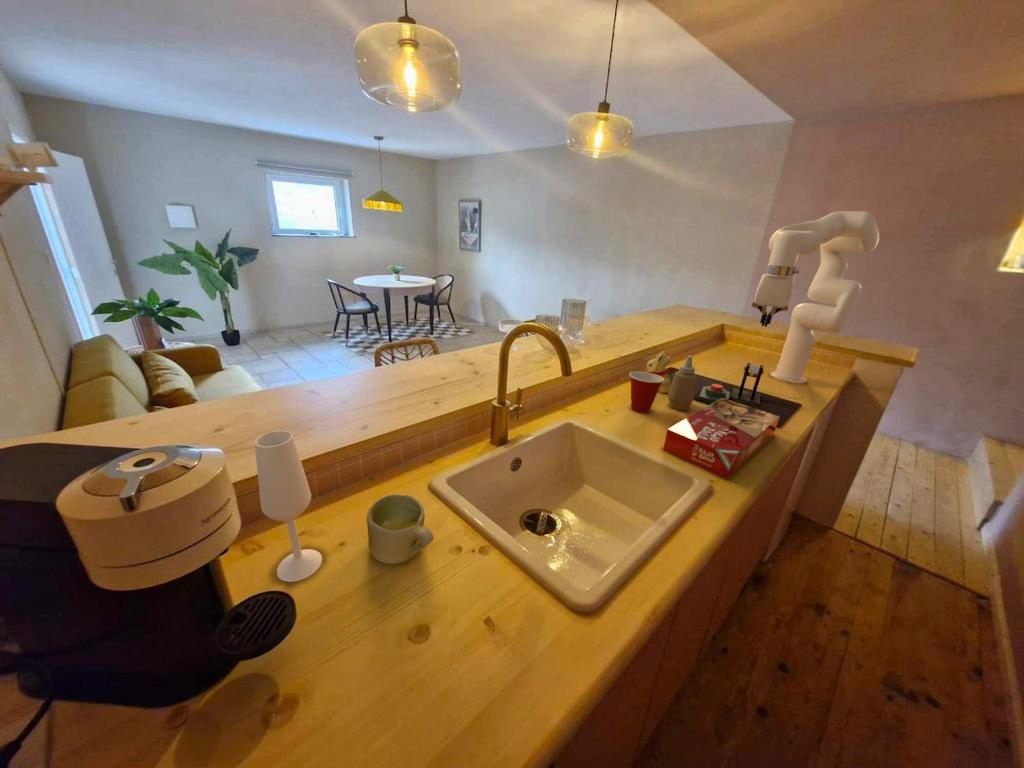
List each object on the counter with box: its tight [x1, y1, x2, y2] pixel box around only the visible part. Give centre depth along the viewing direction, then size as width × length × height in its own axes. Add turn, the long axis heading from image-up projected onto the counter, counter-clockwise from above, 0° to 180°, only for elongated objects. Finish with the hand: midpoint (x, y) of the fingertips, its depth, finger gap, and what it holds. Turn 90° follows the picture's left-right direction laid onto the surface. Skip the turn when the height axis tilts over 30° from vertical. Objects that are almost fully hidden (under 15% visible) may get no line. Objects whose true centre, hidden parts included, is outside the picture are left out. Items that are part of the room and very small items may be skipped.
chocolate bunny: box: [645, 350, 672, 394], centre depth 143 cm, size 7×11×15 cm, turn 38°
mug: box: [366, 493, 434, 565], centre depth 67 cm, size 12×10×10 cm
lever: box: [743, 365, 760, 379], centre depth 142 cm, size 12×5×2 cm, turn 149°
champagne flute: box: [254, 429, 323, 583], centre depth 60 cm, size 7×7×24 cm
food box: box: [662, 398, 780, 480], centre depth 109 cm, size 35×16×6 cm, turn 132°
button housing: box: [698, 385, 731, 404], centre depth 138 cm, size 12×9×4 cm
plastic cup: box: [628, 371, 664, 414], centre depth 126 cm, size 11×11×12 cm
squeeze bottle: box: [667, 355, 697, 411], centre depth 128 cm, size 8×8×18 cm
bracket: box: [730, 362, 765, 405], centre depth 139 cm, size 11×9×13 cm
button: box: [710, 383, 724, 392], centre depth 137 cm, size 4×4×2 cm
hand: (764, 325), depth 136 cm, fingers closed
